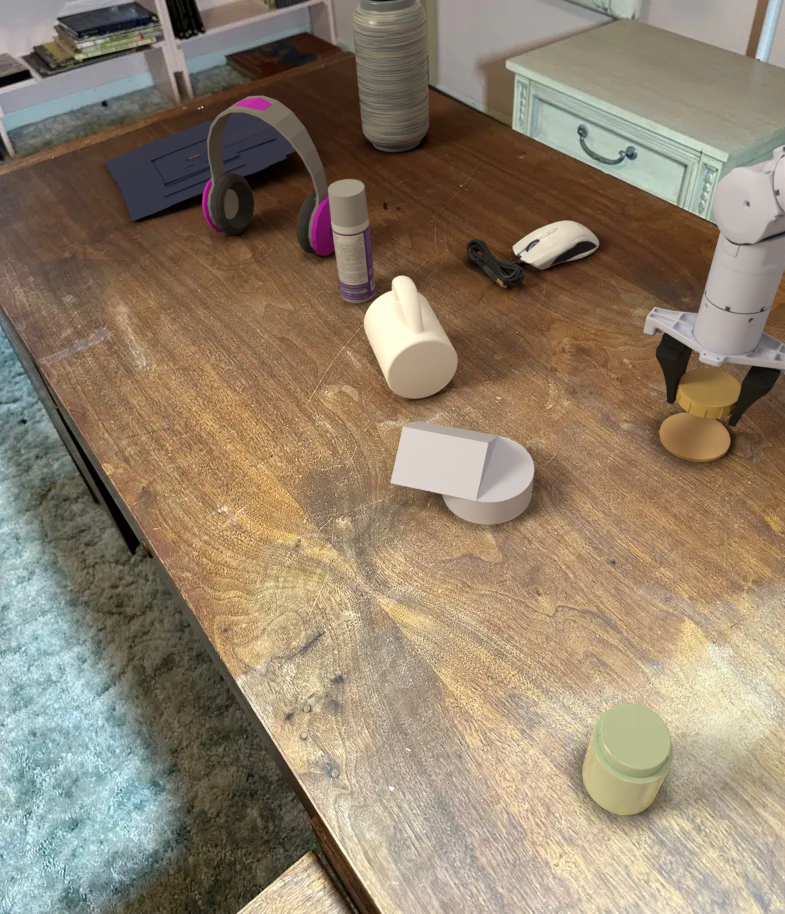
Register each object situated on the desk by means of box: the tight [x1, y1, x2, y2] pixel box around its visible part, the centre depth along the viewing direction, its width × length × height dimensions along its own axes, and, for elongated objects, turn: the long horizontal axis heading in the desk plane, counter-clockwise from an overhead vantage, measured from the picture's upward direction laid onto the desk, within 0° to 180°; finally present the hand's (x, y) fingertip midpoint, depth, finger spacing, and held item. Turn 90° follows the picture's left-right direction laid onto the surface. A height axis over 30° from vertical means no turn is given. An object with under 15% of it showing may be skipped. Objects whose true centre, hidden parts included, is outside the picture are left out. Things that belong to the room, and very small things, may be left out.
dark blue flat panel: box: [104, 112, 297, 222], centre depth 130 cm, size 24×30×4 cm
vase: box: [351, 0, 430, 153], centre depth 126 cm, size 12×12×23 cm
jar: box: [581, 702, 674, 816], centre depth 54 cm, size 5×5×7 cm
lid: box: [676, 367, 741, 420], centre depth 76 cm, size 6×6×2 cm
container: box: [327, 178, 377, 304], centre depth 97 cm, size 5×5×15 cm
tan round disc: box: [658, 411, 731, 463], centre depth 80 cm, size 7×7×1 cm
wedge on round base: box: [389, 420, 535, 526], centre depth 75 cm, size 9×7×13 cm
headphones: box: [201, 95, 335, 257], centre depth 106 cm, size 21×9×20 cm, turn 63°
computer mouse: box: [465, 220, 600, 289], centre depth 104 cm, size 10×18×4 cm, turn 118°
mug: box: [363, 275, 459, 400], centre depth 86 cm, size 8×10×12 cm
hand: (702, 408), depth 77 cm, fingers closed on lid, 5 cm apart
